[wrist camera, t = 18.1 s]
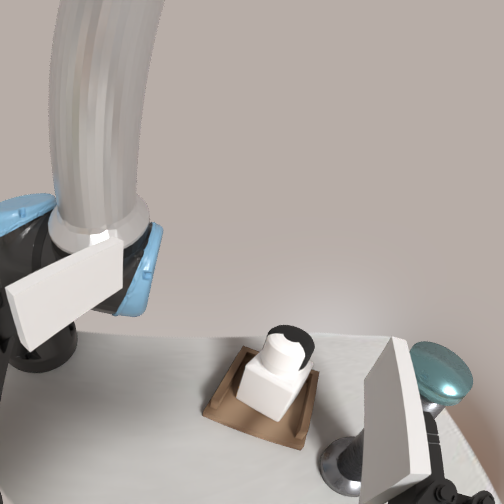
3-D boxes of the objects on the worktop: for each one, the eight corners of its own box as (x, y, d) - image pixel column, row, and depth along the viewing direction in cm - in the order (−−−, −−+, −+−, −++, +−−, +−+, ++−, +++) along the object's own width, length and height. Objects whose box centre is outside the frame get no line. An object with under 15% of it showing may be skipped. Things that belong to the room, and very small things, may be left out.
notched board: (202, 415, 32) (205, 401, 31) (237, 357, 45) (241, 342, 44) (300, 450, 30) (310, 438, 28) (314, 384, 42) (322, 370, 41)
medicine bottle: (259, 372, 41) (280, 312, 37) (298, 394, 38) (328, 335, 34) (234, 398, 35) (253, 335, 31) (277, 423, 32) (308, 364, 28)
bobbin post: (313, 490, 23) (410, 393, 16) (324, 434, 33) (395, 326, 25) (382, 499, 21) (491, 405, 14) (383, 445, 31) (463, 346, 23)
